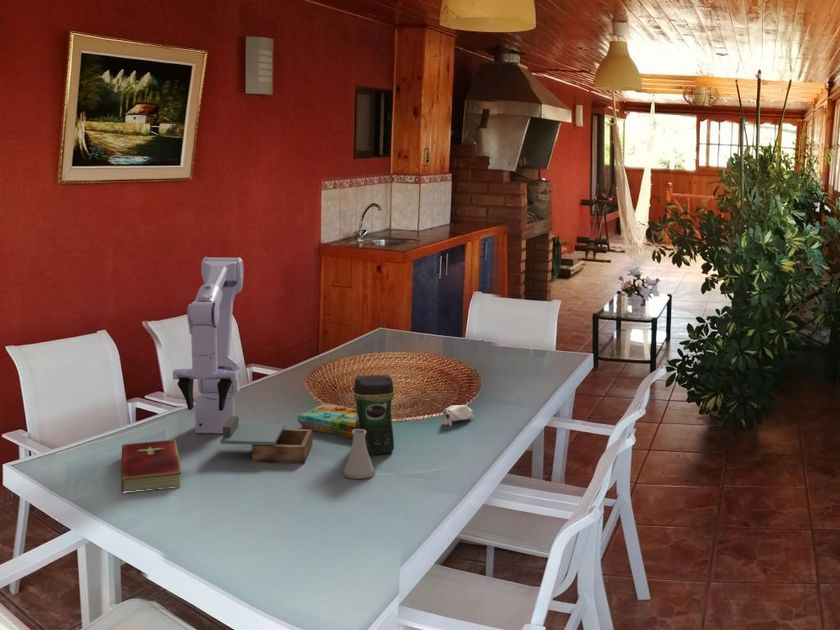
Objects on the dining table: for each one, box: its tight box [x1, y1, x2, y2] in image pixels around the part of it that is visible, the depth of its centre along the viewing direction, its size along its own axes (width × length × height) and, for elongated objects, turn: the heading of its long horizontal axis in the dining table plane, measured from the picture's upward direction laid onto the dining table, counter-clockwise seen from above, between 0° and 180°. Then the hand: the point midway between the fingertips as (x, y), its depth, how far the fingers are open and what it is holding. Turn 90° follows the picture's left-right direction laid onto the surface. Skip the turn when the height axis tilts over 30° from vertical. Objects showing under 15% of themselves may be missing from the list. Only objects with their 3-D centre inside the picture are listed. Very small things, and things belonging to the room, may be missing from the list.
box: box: [251, 428, 313, 465], centre depth 202 cm, size 12×12×4 cm
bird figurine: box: [441, 404, 476, 427], centre depth 227 cm, size 5×7×10 cm
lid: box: [220, 415, 285, 446], centre depth 201 cm, size 12×12×3 cm
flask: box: [342, 429, 376, 480], centre depth 190 cm, size 7×7×10 cm
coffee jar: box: [353, 374, 395, 456], centre depth 204 cm, size 10×8×19 cm
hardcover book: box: [121, 439, 182, 493], centre depth 189 cm, size 12×21×4 cm, turn 19°
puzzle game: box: [297, 402, 356, 439], centre depth 220 cm, size 12×5×20 cm
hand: (206, 409), depth 201 cm, fingers open, 7 cm apart
